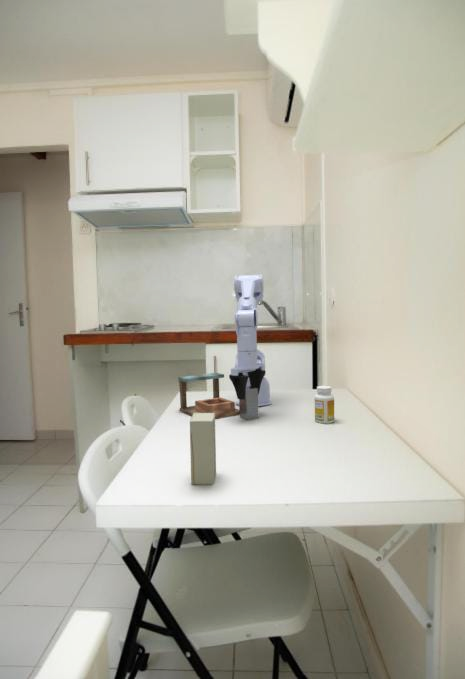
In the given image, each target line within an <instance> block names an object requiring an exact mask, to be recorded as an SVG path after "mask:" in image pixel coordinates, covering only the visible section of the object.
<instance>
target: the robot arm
mask: <svg viewBox="0 0 465 679" xmlns="http://www.w3.org/2000/svg"><path fill="white" fill-rule="evenodd" d="M233 286H234V288H233V289H234V295H235V299H236V302H237V311H235V312H234V326H235V334H236V336H237V338H236V345H237V346H236V348H237V351H236V352H237V354H236V355H235V364H234V367H232V368H230V374H229V375H228V376H229V380H230V381H231V383H232V385H233V388H234V391H235V395H236V397H237V400H239V399H242V400H244V399H245V395H246V387H248V386H252V387H256V388H258V407H262V406H269V405H272V402H271V397H270V395H271V394H270V393H271V391H270V390H271V389H270V382H269V380H268V379H267V377H266V360H265V359H266V358H265V354H264V352H262V351H261V350H259V349H258V344H257V343H258V342H257V341H258V339H257V329H258V327H259V326H258V324H259V321H258V318H259V317H258V315H259V314H258V309H257V308H258V304H259V303H260V302H262V301H263V298H264V275H263V274H242V275H237V274H236V275H234V278H233ZM235 405H237V406H239V401H238V402H235Z"/></svg>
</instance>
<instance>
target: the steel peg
mask: <svg viewBox="0 0 465 679" xmlns="http://www.w3.org/2000/svg"><path fill="white" fill-rule="evenodd" d="M238 402H239V405H238V406H239V410H240V415H239V418H240V419H242V420H245V421H251V420H256V419H257V418H258V419H259V406H258V388H256V387H252V386H248V387H246V395H245V399H244V400H242V399H238ZM258 419H257V420H258Z"/></svg>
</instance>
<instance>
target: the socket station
mask: <svg viewBox="0 0 465 679" xmlns="http://www.w3.org/2000/svg"><path fill="white" fill-rule="evenodd" d="M223 378H225V374H224V373H219V372H213V373H211V372H210V373H203V374H194V375H185V376H178V381H179V400H180V407H179V412H180V413H183V414H186V415H188V416H189V417H192V415H193V413H215V420H216V419H217V420H218V419H223V418H227V417H228V418H230V417H235V416H240V410H239V409H238V408H236V402H235V401H232V400H229V399H226V398H223V397H221V396H220V379H223ZM206 380H212V392H213V393H212V394H213V396H212V397H213V398H207V399H201V400H195V401H194V405H190V406H188V405H187V404H188V402H187V383H189V382H199V381H206Z"/></svg>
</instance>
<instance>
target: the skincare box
mask: <svg viewBox="0 0 465 679" xmlns="http://www.w3.org/2000/svg"><path fill="white" fill-rule="evenodd" d="M189 436H190V437H189V440H190V442H189V443H190V444H189V447H190V478H191V479H190V485H214V484H215V481H216V475H217V451H216V450H217V449H216V448H217V446H216V445H217V443H216V442H217V441H216V419H215V413H193V415H192V416H190V420H189Z"/></svg>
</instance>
